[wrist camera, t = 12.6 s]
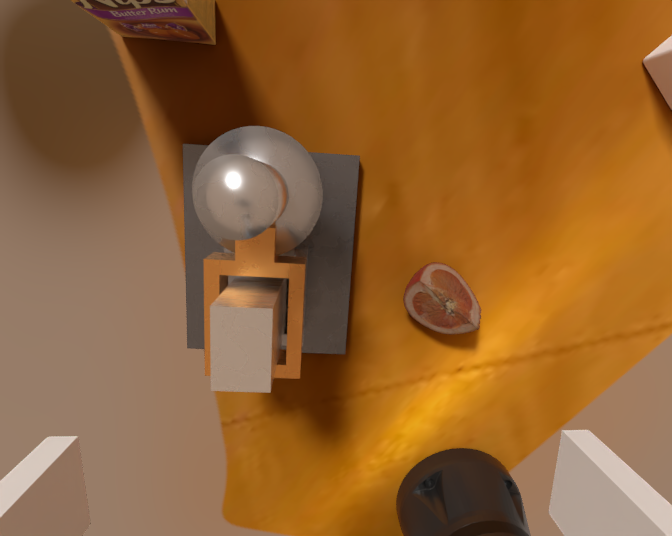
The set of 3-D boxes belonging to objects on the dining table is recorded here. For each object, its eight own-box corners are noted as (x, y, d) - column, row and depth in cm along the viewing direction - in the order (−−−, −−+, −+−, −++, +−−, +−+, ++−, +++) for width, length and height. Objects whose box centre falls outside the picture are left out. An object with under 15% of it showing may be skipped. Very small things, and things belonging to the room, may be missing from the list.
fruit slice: (480, 293, 43) (501, 307, 38) (439, 337, 43) (454, 356, 39) (426, 246, 41) (441, 255, 36) (385, 292, 42) (394, 306, 37)
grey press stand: (344, 348, 43) (361, 461, 26) (191, 342, 42) (101, 455, 25) (358, 146, 38) (392, 115, 21) (187, 134, 37) (72, 91, 20)
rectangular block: (287, 316, 40) (270, 392, 26) (249, 315, 40) (210, 390, 26) (289, 261, 39) (272, 308, 25) (250, 259, 39) (209, 305, 24)
